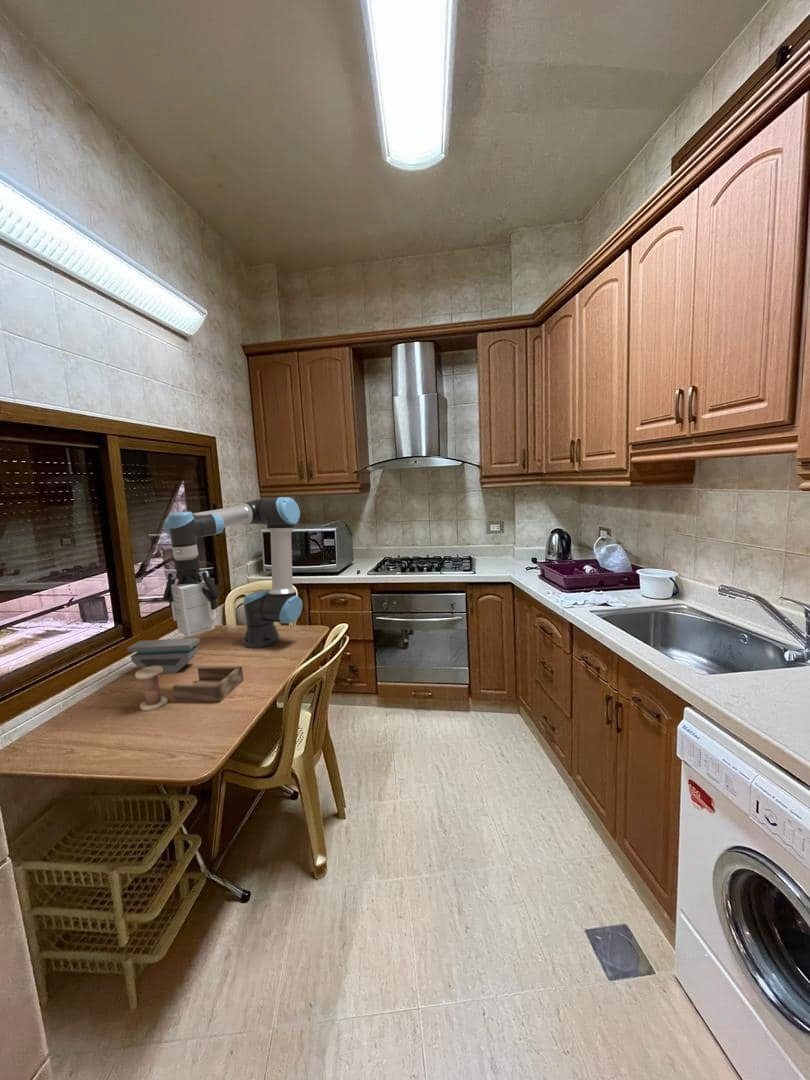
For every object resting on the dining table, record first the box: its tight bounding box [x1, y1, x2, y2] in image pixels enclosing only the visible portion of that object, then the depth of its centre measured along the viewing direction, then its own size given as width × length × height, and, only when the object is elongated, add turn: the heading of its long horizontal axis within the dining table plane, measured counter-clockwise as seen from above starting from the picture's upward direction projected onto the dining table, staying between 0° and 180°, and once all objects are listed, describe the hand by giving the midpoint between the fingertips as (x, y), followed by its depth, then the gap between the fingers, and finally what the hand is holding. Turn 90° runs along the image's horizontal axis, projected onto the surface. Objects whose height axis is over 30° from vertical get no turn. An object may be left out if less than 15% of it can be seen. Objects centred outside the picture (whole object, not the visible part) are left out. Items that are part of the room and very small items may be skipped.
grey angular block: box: [126, 637, 201, 674], centre depth 179 cm, size 25×8×11 cm, turn 88°
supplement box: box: [171, 579, 216, 638], centre depth 154 cm, size 10×9×17 cm
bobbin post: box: [134, 666, 169, 712], centre depth 149 cm, size 8×8×12 cm
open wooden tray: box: [171, 666, 244, 703], centre depth 157 cm, size 16×16×5 cm
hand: (195, 619), depth 154 cm, fingers closed on supplement box, 12 cm apart
